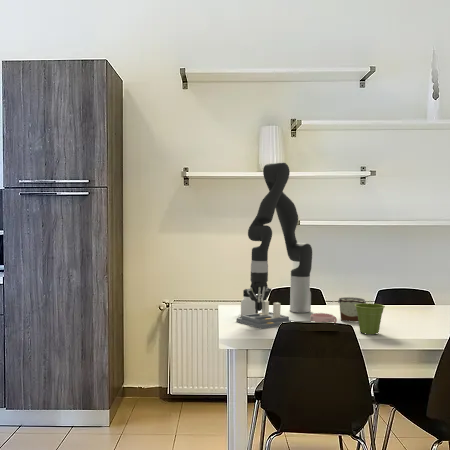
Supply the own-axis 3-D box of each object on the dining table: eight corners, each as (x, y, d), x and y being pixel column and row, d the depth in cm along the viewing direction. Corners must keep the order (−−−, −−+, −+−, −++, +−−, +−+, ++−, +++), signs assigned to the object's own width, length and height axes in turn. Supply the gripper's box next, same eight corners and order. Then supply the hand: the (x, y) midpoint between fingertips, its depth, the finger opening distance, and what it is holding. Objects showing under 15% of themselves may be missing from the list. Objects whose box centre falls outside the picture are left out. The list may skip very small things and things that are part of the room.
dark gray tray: (268, 317, 256) (268, 310, 256) (293, 324, 243) (294, 316, 243) (236, 321, 246) (236, 314, 246) (261, 328, 232) (261, 320, 232)
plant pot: (379, 330, 233) (379, 303, 233) (388, 336, 222) (389, 308, 221) (350, 330, 233) (351, 302, 233) (358, 336, 221) (359, 307, 221)
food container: (367, 320, 255) (367, 298, 255) (365, 322, 249) (366, 300, 249) (339, 318, 259) (339, 296, 259) (337, 320, 253) (338, 298, 253)
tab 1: (266, 315, 251) (266, 300, 251) (270, 316, 249) (271, 301, 249) (259, 316, 249) (259, 300, 249) (263, 317, 246) (264, 301, 246)
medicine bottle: (255, 316, 259) (256, 290, 258) (240, 315, 260) (241, 289, 260) (258, 313, 266) (258, 288, 265) (243, 313, 267) (243, 287, 267)
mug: (318, 332, 227) (318, 318, 227) (305, 327, 236) (305, 313, 236) (343, 330, 231) (343, 316, 231) (329, 326, 241) (330, 312, 240)
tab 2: (277, 318, 246) (278, 302, 246) (282, 319, 243) (282, 303, 243) (270, 319, 244) (271, 302, 243) (275, 320, 241) (275, 304, 241)
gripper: (265, 269, 253) (264, 308, 254) (242, 270, 245) (241, 310, 246) (276, 271, 247) (275, 310, 247) (252, 272, 239) (252, 313, 240)
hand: (258, 310), depth 247 cm, fingers closed
